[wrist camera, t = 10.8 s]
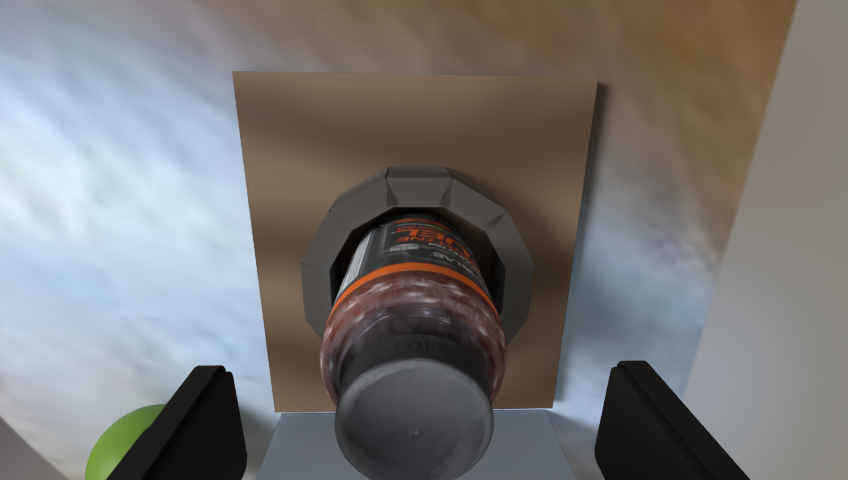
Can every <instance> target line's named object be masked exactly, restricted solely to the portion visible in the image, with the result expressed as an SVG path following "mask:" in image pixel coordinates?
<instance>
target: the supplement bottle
mask: <svg viewBox="0 0 848 480" xmlns="http://www.w3.org/2000/svg"><path fill="white" fill-rule="evenodd" d="M506 367H507V345H506V338H505V333H504V330H503V326H502V324H501V321H500V319H499V316H498V313H497V311H496V308H495V306H494V304H493V301H492V299H491V296H490V294H489V291H488V289H487V287H486V285H485V282H484V280H483V277H482V275H481V272H480V270H479V267H478V265H477V262H476V259H475V258H474V255H473V253H472V250H471V248H470V245H469V243H468V242H467V240H466V239H465V237H464V236H463V234H462V233H461V232H460V230H459V229H458V228H457V227H456V226H455V225H453V223H451V222H450V221H448V220H447V219H445V218H444V217H442V216H440V215H438V214H436V213H433V212H430V211H425V210H415V209H411V210H402V211H397V212H394V213H390V214H388V215H386V216H384V217H382V218H380V219H379V220H377V221H376V222H375V223H374V224H373V225H371V226H370V227H369V228H368V229H367V230H366V232H365V233H364V235H363V236H362V237H361V239H360V241H359V242H358V245H357V246H356V248H355V251H354V254H353V257H352V259H351V262H350V264H349V267H348V269H347V272H346V275H345V277H344V280H343V282H342V285H341V287H340V290H339V293H338V295H337V298H336V300H335V303H334V305H333V308H332V310H331V313H330V316H329V319H328V321H327V324H326V327H325V330H324V333H323V337H322V341H321V348H320V369H321V375H322V379H323V383H324V386H325V389H326V392H327V394H328V395H329V397H330V399H331V400H332V402H333V404H334V405H335V406H336V414H335V434H336V439H337V442H338V446H339V448H340V450H341V451H342V453H343V455H344V457H345V458H346V460H347V461H348V462H349V463H350V464H351V465H352V466H353V467H354V468H355V469H356V470H357V471H358V472H360V473H361V474H363V475H364V476H365V477H367V478H368V479H371V480H454V479H456V478H459V477H460V476H461V475H463V474H465V473H466V472H468V471H469V470H470V469H472V468H473V467H474V466H475V465H476V464H477V463H478V461H479V460H480V459H481V458H482V457H483V455H484V454H485V452H486V450H487V449H488V446H489V444H490V441H491V439H492V435H493V430H494V413H493V409H492V403H493V402H494V400H495V398H496V397H497V394H498V392H499V391H500V389H501V386H502V384H503V380H504V377H505V374H506Z"/></svg>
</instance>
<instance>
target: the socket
mask: <svg viewBox="0 0 848 480" xmlns="http://www.w3.org/2000/svg"><path fill="white" fill-rule="evenodd" d="M232 75H233V83H234V91H235V99H236V107H237V115H238V122H239V130H240V138H241V146H242V154H243V162H244V170H245V178H246V186H247V194H248V202H249V210H250V217H251V225H252V233H253V241H254V249H255V257H256V265H257V273H258V281H259V289H260V297H261V305H262V313H263V320H264V328H265V336H266V344H267V352H268V360H269V368H270V376H271V384H272V392H273V400H274V408H275V412H331V411H336V406H335V405H334V404H333V402H332V400H331V399H330V397H329V395H328V394H327V392H326V389H325V386H324V383H323V379H322V375H321V369H320V348H321V341H322V337H323V333H324V330H325V327H326V324H327V321H328V319H329V316H330V313H331V310H332V308H333V305H334V303H335V300H336V298H337V295H338V293H339V290H340V287H341V285H342V282H343V280H344V277H345V275H346V272H347V269H348V267H349V264H350V262H351V259H352V257H353V254H354V251H355V248H356V246H357V245H358V242H359V241H360V239H361V237H362V236H363V235H364V233H365V232H366V230H367V229H368V228H369V227H370V226H371V225H373V224H374V223H375V222H376V221H377V220H379V219H380V218H382V217H384V216H386V215H388V214H390V213H394V212H397V211H402V210H411V209H415V210H425V211H430V212H433V213H436V214H438V215H440V216H442V217H444V218H445V219H447V220H448V221H450V222H451V223H453V225H455V226H456V227H457V228H458V229H459V230H460V232H461V233H462V234H463V236H464V237H465V239H466V240H467V242H468V243H469V245H470V248H471V250H472V253H473V255H474V258H475V259H476V262H477V265H478V267H479V270H480V272H481V275H482V277H483V280H484V282H485V285H486V287H487V289H488V291H489V294H490V296H491V299H492V301H493V304H494V306H495V308H496V311H497V313H498V316H499V319H500V321H501V324H502V326H503V330H504V333H505V338H506V345H507V367H506V374H505V377H504V380H503V384H502V386H501V389H500V391H499V392H498V394H497V397H496V398H495V400H494V402H493V403H492V409H528V408H553V401H554V393H555V386H556V379H557V372H558V364H559V357H560V350H561V343H562V336H563V328H564V321H565V314H566V307H567V300H568V292H569V285H570V278H571V271H572V263H573V256H574V249H575V242H576V235H577V227H578V220H579V213H580V206H581V199H582V191H583V184H584V177H585V170H586V162H587V155H588V148H589V141H590V134H591V126H592V119H593V112H594V105H595V98H596V90H597V83H598V77H545V76H485V75H425V74H364V73H304V72H243V71H232Z"/></svg>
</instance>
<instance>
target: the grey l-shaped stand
mask: <svg viewBox="0 0 848 480" xmlns="http://www.w3.org/2000/svg"><path fill="white" fill-rule="evenodd" d="M493 413H494V430H493V435H492V439H491V441H490V444H489V446H488V449H487V450H486V452H485V454H484V455H483V457H482V458H481V459H480V460H479V461H478V463H477V464H476V465H475V466H474V467H473V468H472V469H470V470H469V471H468V472H466V473H465V474H463V475H461V476H460V477H459V478H456V479H454V480H576V478H575V476H574V474H573V471H572V469H571V467H570V465H569V462H568V460H567V458H566V456H565V453H564V451H563V449H562V447H561V444H560V442H559V440H558V438H557V435H556V433H555V431H554V429H553V426H552V424H551V422H550V420H549V417H548V415H547V413H546V411H545V410H506V411H493ZM335 414H336V413H311V414H282V415H281V417H280V420H279V422H278V425H277V427H276V430H275V432H274V435H273V437H272V440H271V442H270V445H269V447H268V450H267V452H266V455H265V457H264V460H263V462H262V464H261V467H260V469H259V472H258V474H257V477H256V479H255V480H371V479H368V478H367V477H365V476H364V475H363V474H361V473H360V472H358V471H357V470H356V469H355V468H354V467H353V466H352V465H351V464H350V463H349V462H348V461H347V460H346V458H345V457H344V455H343V453H342V451H341V450H340V448H339V446H338V442H337V439H336V434H335Z"/></svg>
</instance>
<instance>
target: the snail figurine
mask: <svg viewBox="0 0 848 480" xmlns="http://www.w3.org/2000/svg"><path fill="white" fill-rule="evenodd" d="M165 406H166V404H159V405H151V406H147V407H143V408H140V409H137V410H135V411H133V412H130V413H128V414H127V415H125V416H123V417H122V418H120V419H119V420H117V421H116V422H115V423H114V424H112V425H111V426H110V427H109V428H108V429H107V430H106V431H105V432H104V433H103V435H102V436H101V437H100V438H99V440H98V441H97V443H96V444H95V446H94V448H93V450H92V452H91V454H90V456H89V459H88V462H87V466H86V473H85V480H106V479H107V477H108V476H109V475H110V474H111V472H112V471H113V470H114V468H115V467H116V466H117V464H118V463H119V462H120V461H121V459H122V458H123V457H124V455H125V454H126V453H127V452H128V450H129V449H130V448H131V446H132V445H133V444H134V442H135V441H136V440H137V439H138V437H139V436H140V435H141V434H142V432H143V431H144V430H145V429H146V428H148V427H150V425H151V424H152V423H153V421H154V420H155V419H156V417H157V416H158V415H159V414H160V412H161V411H162V410H163V408H164V407H165Z"/></svg>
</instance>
